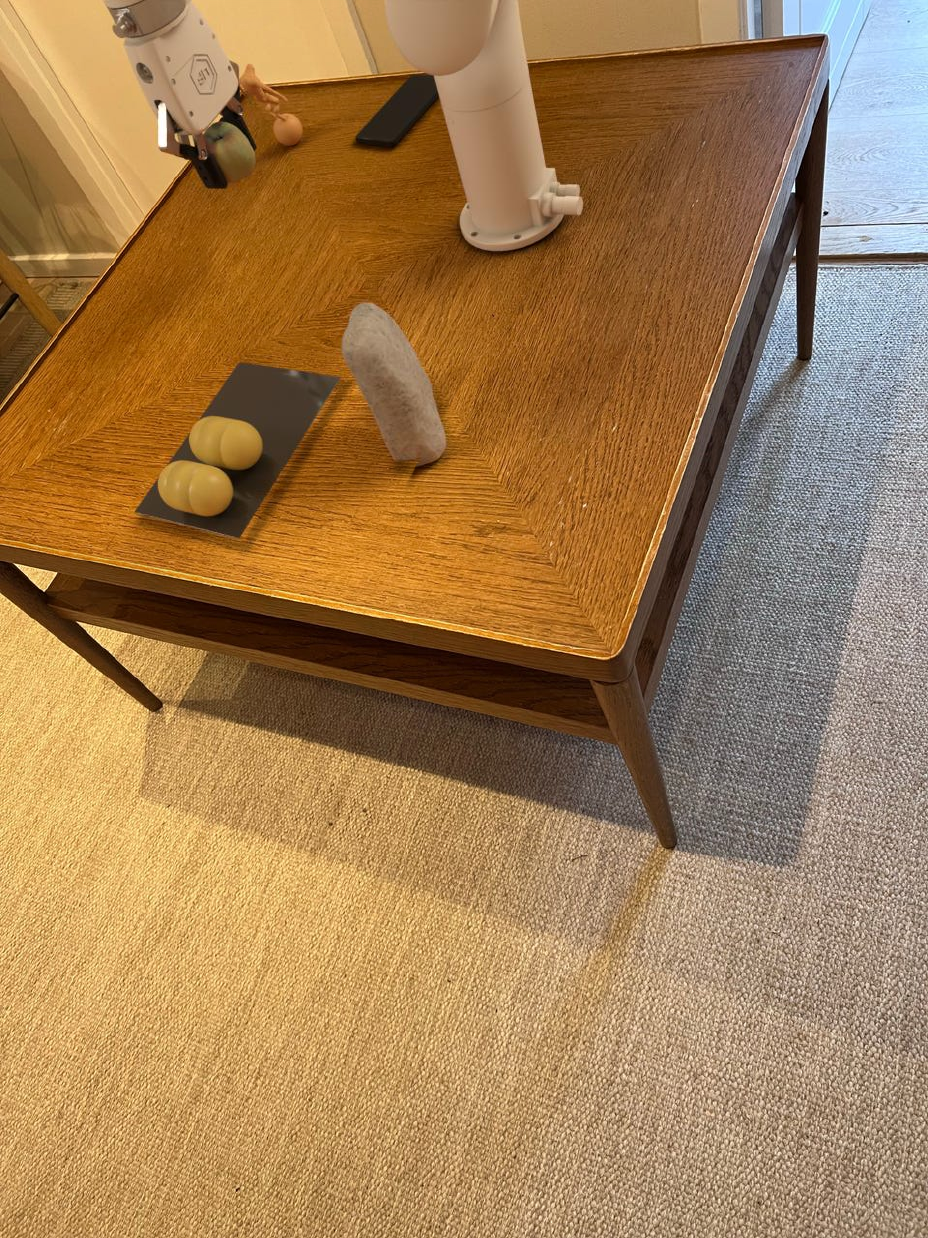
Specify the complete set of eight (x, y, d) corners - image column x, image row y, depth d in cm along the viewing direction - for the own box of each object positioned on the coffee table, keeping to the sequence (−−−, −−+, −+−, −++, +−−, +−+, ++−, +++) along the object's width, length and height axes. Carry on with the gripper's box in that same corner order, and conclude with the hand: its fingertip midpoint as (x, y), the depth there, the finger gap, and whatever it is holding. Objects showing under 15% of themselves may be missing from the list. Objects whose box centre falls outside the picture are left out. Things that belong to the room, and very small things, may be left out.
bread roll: (250, 491, 92) (227, 459, 87) (225, 530, 90) (201, 499, 85) (190, 478, 95) (165, 446, 91) (164, 515, 93) (138, 484, 89)
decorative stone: (387, 398, 96) (336, 283, 84) (441, 384, 95) (398, 265, 83) (391, 475, 90) (337, 363, 78) (449, 461, 89) (404, 345, 77)
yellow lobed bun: (279, 447, 94) (258, 413, 90) (255, 484, 92) (232, 451, 88) (219, 435, 97) (196, 402, 93) (195, 471, 95) (171, 438, 91)
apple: (228, 156, 111) (204, 109, 107) (274, 162, 108) (251, 114, 103) (198, 186, 109) (172, 140, 105) (243, 194, 106) (218, 147, 101)
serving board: (345, 386, 99) (341, 376, 97) (245, 547, 90) (238, 538, 89) (245, 371, 104) (239, 361, 103) (141, 520, 96) (133, 512, 94)
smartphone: (352, 137, 123) (411, 73, 128) (354, 143, 124) (413, 79, 129) (392, 142, 120) (451, 75, 125) (394, 148, 121) (452, 82, 126)
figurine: (323, 138, 127) (288, 49, 117) (297, 164, 125) (259, 77, 115) (281, 130, 131) (245, 44, 121) (255, 156, 129) (216, 70, 119)
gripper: (129, 54, 88) (219, 216, 103) (218, -42, 95) (291, 123, 110) (75, 58, 91) (170, 214, 106) (166, -36, 98) (243, 124, 113)
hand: (231, 167), depth 108 cm, fingers closed on apple, 6 cm apart
